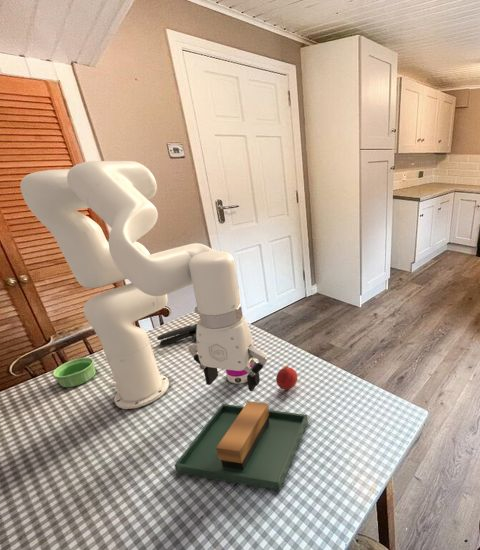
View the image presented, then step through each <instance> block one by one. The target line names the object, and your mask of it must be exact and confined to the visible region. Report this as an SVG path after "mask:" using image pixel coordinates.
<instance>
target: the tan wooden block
mask: <svg viewBox="0 0 480 550" xmlns="http://www.w3.org/2000/svg"><path fill="white" fill-rule="evenodd" d="M243 407H244V408H243V409H242V411H241V412H240V414H239V415H238V417H237V418H236V420H235V421H234V422H233V424H232V425H231V427H230V428H229V430H228V431H227V433H226V434H225V436H224V437H223V438H222V440H221V441H220V443H219V444H218V446H217V447H216V450H217V454H218V458H219V460H221V462H222V466H223V467H228V468H234V469H240V470H244V468H245V466H246V464H247V462H248V461H249V459H250V457H251V455H252V453H253V451H254V450H255V448H256V446H257V444H258V442H259V441H260V439H261V437H262V435H263V433H264V431H265V430H266V428H267V426H268V424H269V418H268V416H269V410H270V409H269V408H270V407H269V403H266V402H259V401H251V400H247V402H246V403H245V405H244V406H243Z"/></svg>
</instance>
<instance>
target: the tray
mask: <svg viewBox="0 0 480 550" xmlns="http://www.w3.org/2000/svg"><path fill="white" fill-rule="evenodd" d="M243 408H244V406H243V405H242V406H241V405H235V404H227V403H222V404H221V405H220V406H219V407H218V408H217V410H216V411H215V413H214V414H213V415H212V416H211V418H210V419H209V420H208V421H207V423H206V424H205V426H204V427H203V428H202V430H200V432H199V433H198V434H197V436H195V438H194V440H193V441H192V442H191V443H190V445H189V446H188V447H187V448H186V450H185V451H184V452H183V454H182V455H181V456H180V457H179V459H178V460H177V462H176V463H175V464H174V469H175V472H176V474H180V475H185V476H191V477H197V478H203V479H208V480H209V479H210V480H215V481H221V482H225V483H226V482H227V483H232V484H233V483H234V484H238V485H244V486H250V487H257V488H263V489H267V490H268V489H269V490H272V491H273V490H274V491H281V489H282V486H283V484H284V481H285V479H286V477H287V474H288V472H289V469H290V467H291V464H292V462H293V460H294V457H295V455H296V452H297V449H298V447H299V444H300V442H301V440H302V437H303V435H304V432H305V430H306V428H307V426H308V425H307V424H308V423H309V420H308V414H305V413H304V414H303V413H302V414H301V413H296V412H288V411H280V410H273V409H269V416H268V418H269V424H268V426H267V428H266V430H265V431H264V433H263V435H262V437H261V439H260V441H259V442H258V444H257V446H256V448H255V450H254V451H253V453H252V455H251V457H250V459H249V461H248V462H247V464H246V466H245V468H244V470H240V469H234V468H228V467H223V466H222V462H221V460H219V458H218V454H217V450H216V447H217V446H218V444H219V443H220V441H221V440H222V438H223V437H224V436H225V434H226V433H227V431H228V430H229V428H230V427H231V425H232V424H233V422H234V421H235V420H236V418H237V417H238V415H239V414H240V412H241V411H242V409H243Z"/></svg>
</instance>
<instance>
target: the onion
mask: <svg viewBox="0 0 480 550" xmlns="http://www.w3.org/2000/svg"><path fill="white" fill-rule="evenodd" d="M275 380H276V384H277V386H278V388H279V389H281V390H285V391H287V390H288V391H289V390H290V389H293V387H295V385H296V384H297V382H298V373H297V371H296V370H295V369H294V368H292V367H290V366H289V365H287V364H285V365H284V366H283V368H281V369H280V370H279V371H278V372H277V374H276V378H275Z"/></svg>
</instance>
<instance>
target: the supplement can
mask: <svg viewBox="0 0 480 550" xmlns="http://www.w3.org/2000/svg"><path fill="white" fill-rule="evenodd" d="M248 365H249V366H250V367H251V368H252V367H253V366H252V365H251V364H250V363H249V364H248ZM225 372H226V378H227V381H228V382H230V383H232V384H235V385H236V384H237V385H240V384H244V383H248V381H247V376H248V373H247V372H246V371H245V370H242V371H234V370H227V369H225Z"/></svg>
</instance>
